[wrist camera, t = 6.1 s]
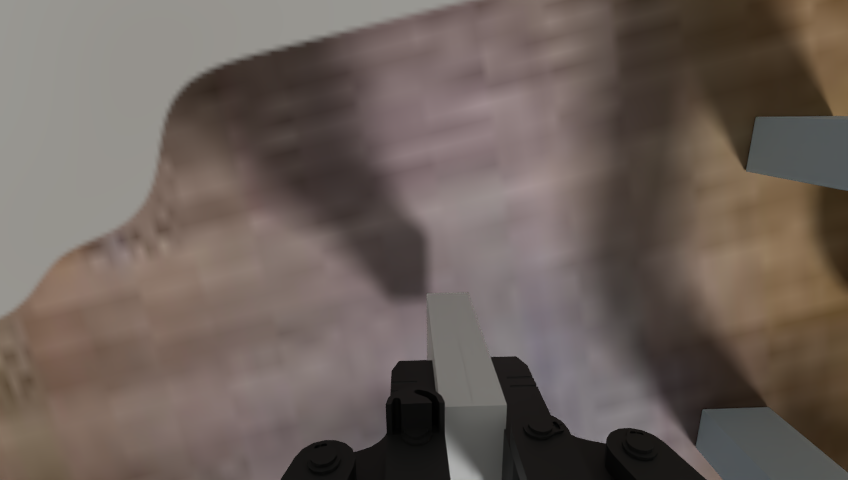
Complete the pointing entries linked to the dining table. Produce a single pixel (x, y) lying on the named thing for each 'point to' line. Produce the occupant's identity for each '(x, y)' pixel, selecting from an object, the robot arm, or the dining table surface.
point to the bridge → (761, 427)
